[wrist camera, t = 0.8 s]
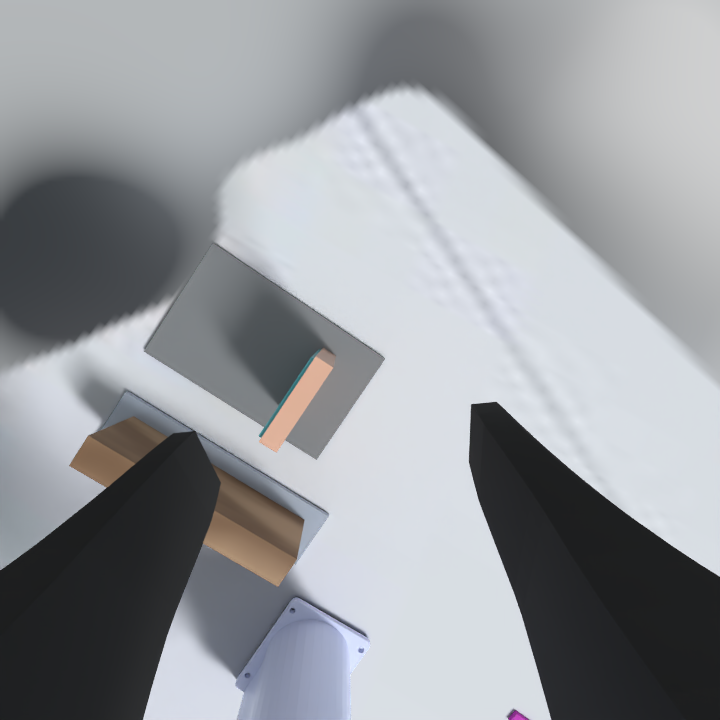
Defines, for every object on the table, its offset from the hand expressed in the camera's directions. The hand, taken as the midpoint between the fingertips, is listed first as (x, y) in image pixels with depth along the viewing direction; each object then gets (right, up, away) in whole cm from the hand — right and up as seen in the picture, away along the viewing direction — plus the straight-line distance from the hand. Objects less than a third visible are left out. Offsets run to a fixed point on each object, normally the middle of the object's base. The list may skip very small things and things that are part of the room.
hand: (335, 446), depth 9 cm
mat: (-7, +3, +19) cm, 20 cm away
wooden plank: (-11, -8, +19) cm, 24 cm away
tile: (-3, 0, +19) cm, 19 cm away
